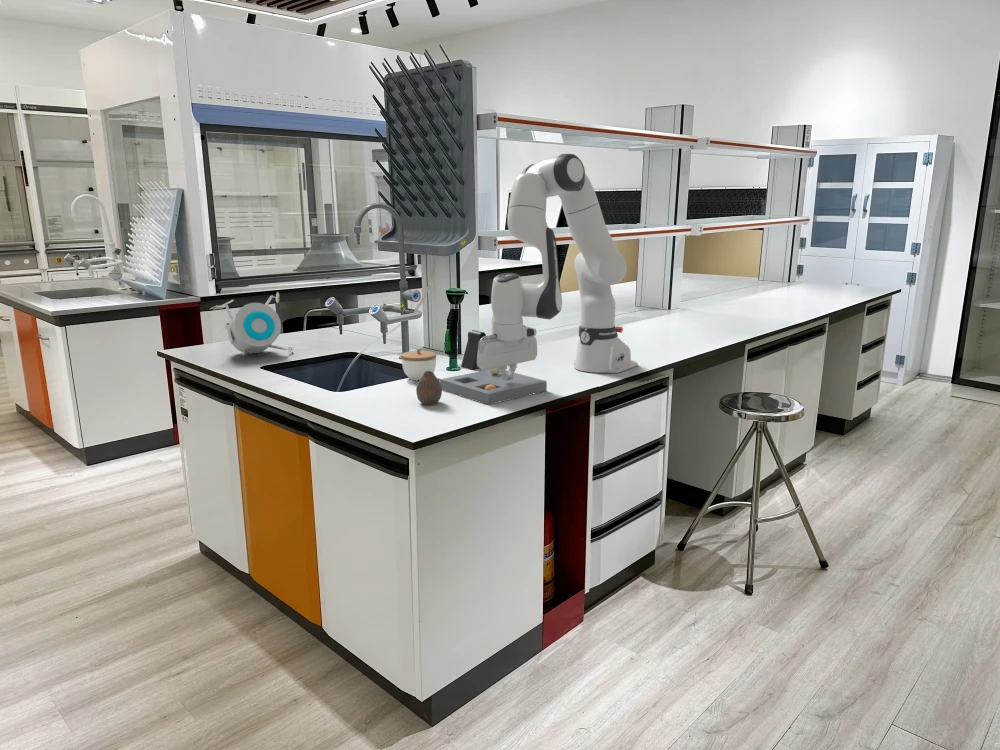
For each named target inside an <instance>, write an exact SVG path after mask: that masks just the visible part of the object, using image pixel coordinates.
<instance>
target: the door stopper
mask: <svg viewBox="0 0 1000 750" xmlns="http://www.w3.org/2000/svg"><path fill="white" fill-rule="evenodd" d="M483 336H487V335H486V333H485V332H484V331H483V332H482V331H478V330H474V329H472V330H470V329H469V331H468V332H467V342H466V345H465V351H464V353H463V356H462V360H461V361H462V362H461V363H460V367H461V368H464V369H467V368H468V370H471V371H475V369H476V370H480V368H479V367H478V366H477V353H478V343H479V341H480V339H481V338H482V337H483Z"/></svg>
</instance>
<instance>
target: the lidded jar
mask: <svg viewBox="0 0 1000 750" xmlns="http://www.w3.org/2000/svg"><path fill="white" fill-rule="evenodd" d="M400 355H401V356H400V357H401V364H402V370H403V372H404V375H406V376H407V377H408V378H409V380H410V379H412V380H411V381H414V380H420V379H421V377H422V376H423V374H424V372H425V371H432V372H433V373H434V374H435V370H436V365H437V353H436V352H434V351H430V350H429V351H428V350H421V348H417V349H416V350H412V351H411V350H410V351H407V352H403V353H401V354H400Z"/></svg>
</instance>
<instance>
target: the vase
mask: <svg viewBox="0 0 1000 750" xmlns="http://www.w3.org/2000/svg"><path fill="white" fill-rule="evenodd" d="M415 390H416V396H417V400H418V401H419V403H420V404H422V405H424V404H425V405H424V406H432V405H433V404H434V405H436V404H438V403H439V401H440V400H441V398H442V394H443V393H442V392H443V390H442V387H441V384H440V379H439V378H438V377H437V376H436V375H435V372H434V373H433V372H432V371H425V372H424V374H423V376H422V377H421V379H420V380H419V381H418V382H417V384H416V389H415ZM434 405H433V406H434Z"/></svg>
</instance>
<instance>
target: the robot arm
mask: <svg viewBox="0 0 1000 750" xmlns="http://www.w3.org/2000/svg"><path fill="white" fill-rule="evenodd" d="M585 169H586V168H585V166H584V164H583V162H582V160H581V159H580V158H579V157H578V156H577V155H576V154H573V153H562V154H560V155H555V156H550V157H547V158H544V159H543V160H539V161H538V162H535V163H532V164H529V165H528V166H527V167H525V168H524V170H523V171H522V172H521V173H520V174H519V175H517V176H516V178H514V182H513V184H512V187H511V191H510V195H509V202H508V207H507V209H508V210H507V218H506V219H507V220H506V221H507V222H506V223H507V228H508V231H509V232H510V234H512V236H514V238H515V239H517V241H520V242H522V243H525V244H526V245H529V246H531V247H533V248H535V249H536V250H539V252H540V255H541V264H542V265H541V266H542V279H543V280H542V282H541V283H526V282H525V283H524V282H522V278H521V276H520V275H519V274H518V273H513V272H506V273H500V274H498V275H496V276H494V278H493V281H492V285H491V286H492V287H491V294H490V295H491V301H490V302H491V303H490V305H491V310H492V317H491V334H489V335H486V336H483V337H482V338H481V339H480V341H479V343H478V353H477V366H478V367H479V368H480V369H481V370H483V371H485V370H489V369H493V368H498V367H499V370H500V372H501V374H502V380H503V381H507V380H512V379H513V378H514V373H516V372H515V371H516V369H517V367H518V366H517V364H521V363H526V362H530V361H535V360H536V359H537V357H538V342H537V341H538V340H537V338H536V335H537V329H536V328H533V327H529V326H526V325H524V319H523V317H524V318H537V319H543V320H549V321H550V320H552V319H553V318H555V317H556V316H557V315H558V314H559V313H560V312H561V311H562V308H563V307H562V306H563V297H562V296H563V295H562V289H561V284H560V273H559V257H558V247H557V239H556V236H555V232H554V230H553V229H552V228H550V227H549V226H548V223H547V218H546V217H547V216H546V214H547V213H546V212H547V199H548V198H553V197H555V196H558V197H559V199H560V202H561V207H562V210H563V213H564V216H565V219H566V223H567V226H568V230H569V231H570V235H571V238H572V240H573V241H574V242H575V244H576V245H577V247H578V249H579V251H580V252H578V253H577V254H576V257H575V258H574V260H573V267H574V271H575V273H576V277H577V284H578V290H579V291H578V292H579V297H580V325H579V326H578V337H579V340H578V342H577V349H576V354H575V356H576V357H575V360H574V362H573V365H574V369H576V370H578V371H581V372H586V373H596V374H597V373H598V374H600V373H603V374H605V373H607V374H608V373H609V374H610V373H612V374H619V373H622V372H624V371H627V370H630V369H633V368H635V367H637V366H639V363H638V362H637V361H635V360H632V359H631V358H632V357H631V356H632V355H631V354H632V353H631V348H630V347H629V346H628V345H627V344H626V343H625V342H624V341H622V340H621V338H619V335H618V333H623V331H624V327H623V326H619V325H617V326H616V322H615V319H616V301H615V298H614V296H613V293H612V292H613V291H612V287H611V286H613V285H616V284H618V283H620V282H621V281H623V280H624V278H625V277H626V274H627V271H628V265H627V261H626V259H625V258H624V257H623V256H622V255H621V253H620V251H619V250H618V247H617V246H616V244H615V241H614V240H613V238H612V235H611V234H610V232H609V230H608V228H607V225H606V221H605V219H604V215H603V213H602V209H601V206H600V203H599V200H598V197H597V194H596V191H595V189H594V186H593V185H592V182H591V181H590V178H589V176H588V175H587V174H586V171H585ZM480 369H479V370H480ZM507 369H508V370H507ZM506 371H508V373H507V372H506Z"/></svg>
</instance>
